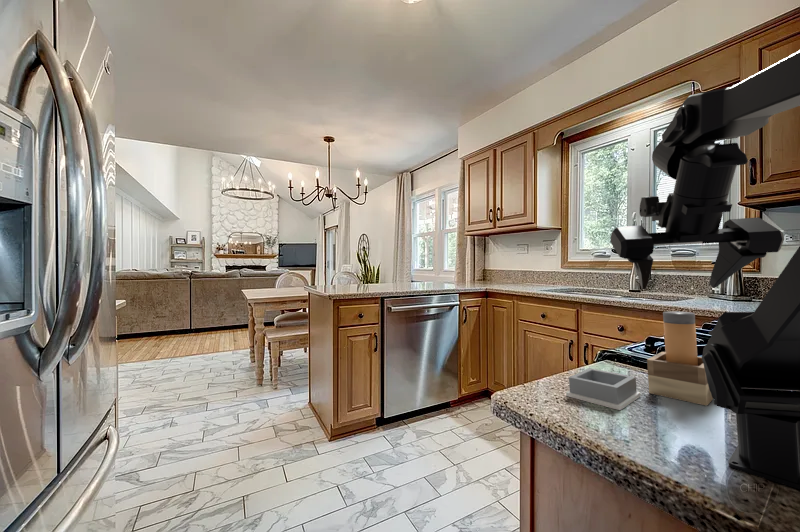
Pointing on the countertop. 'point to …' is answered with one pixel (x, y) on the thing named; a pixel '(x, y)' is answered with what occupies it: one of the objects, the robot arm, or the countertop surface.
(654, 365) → the open tan box
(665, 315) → the bottle
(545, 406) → the countertop surface
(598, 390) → the grey bin on base
